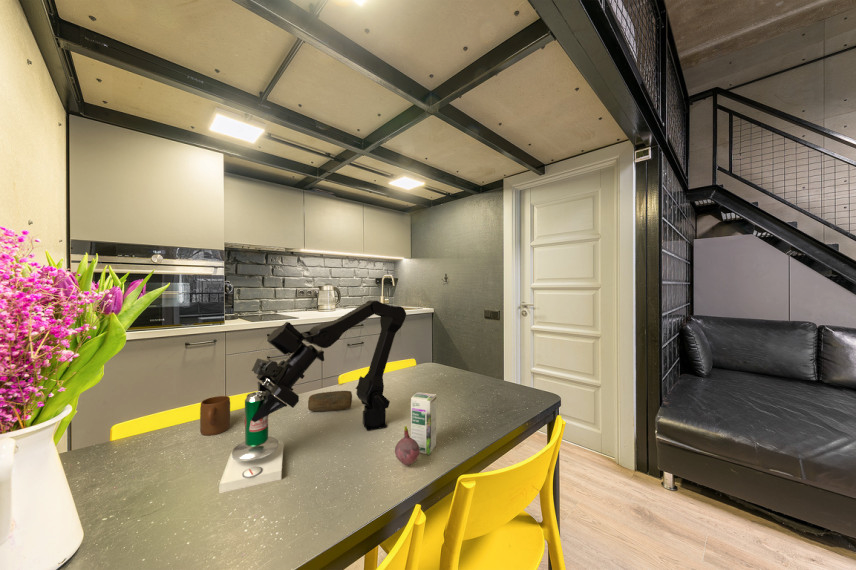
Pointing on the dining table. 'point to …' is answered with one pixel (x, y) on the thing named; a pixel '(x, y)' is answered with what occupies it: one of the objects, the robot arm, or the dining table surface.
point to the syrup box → (424, 421)
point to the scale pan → (254, 450)
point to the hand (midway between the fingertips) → (250, 417)
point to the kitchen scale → (252, 471)
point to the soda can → (256, 430)
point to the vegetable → (407, 449)
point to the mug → (214, 415)
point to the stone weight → (330, 401)
